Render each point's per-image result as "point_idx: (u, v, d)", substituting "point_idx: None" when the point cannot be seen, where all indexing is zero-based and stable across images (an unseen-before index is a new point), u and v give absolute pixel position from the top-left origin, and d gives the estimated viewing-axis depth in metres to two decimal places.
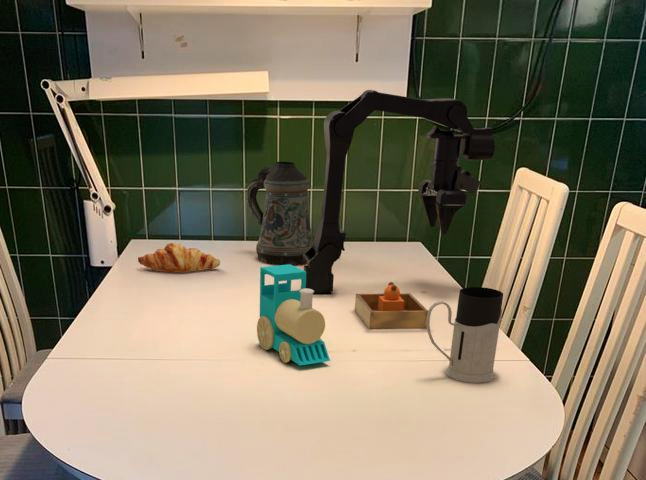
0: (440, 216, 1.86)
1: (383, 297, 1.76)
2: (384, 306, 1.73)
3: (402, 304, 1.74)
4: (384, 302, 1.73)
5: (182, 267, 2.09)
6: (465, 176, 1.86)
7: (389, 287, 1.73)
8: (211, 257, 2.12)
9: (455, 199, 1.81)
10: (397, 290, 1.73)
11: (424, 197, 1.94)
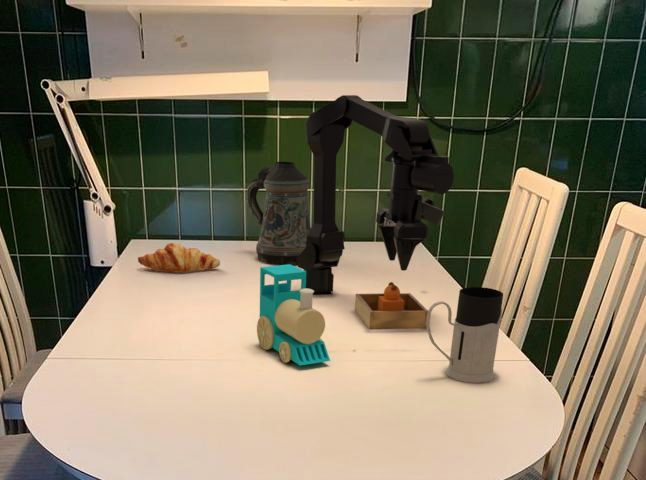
0: (399, 251, 1.66)
1: (383, 297, 1.76)
2: (384, 306, 1.73)
3: (402, 304, 1.74)
4: (384, 302, 1.73)
5: (182, 267, 2.09)
6: (426, 206, 1.66)
7: (389, 287, 1.73)
8: (211, 257, 2.12)
9: (415, 232, 1.61)
10: (397, 290, 1.73)
11: (382, 228, 1.74)
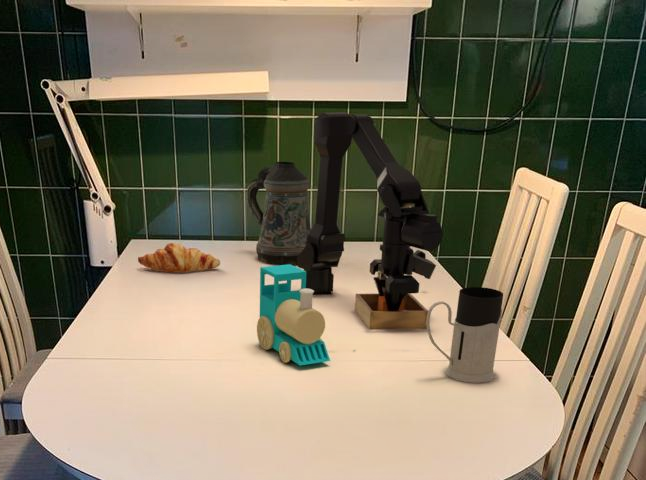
0: (387, 301, 1.71)
1: (383, 297, 1.76)
2: (384, 306, 1.74)
3: (402, 304, 1.74)
4: (384, 302, 1.73)
5: (182, 267, 2.09)
6: (418, 260, 1.70)
7: None
8: (211, 257, 2.12)
9: (405, 288, 1.65)
10: None
11: (378, 281, 1.76)
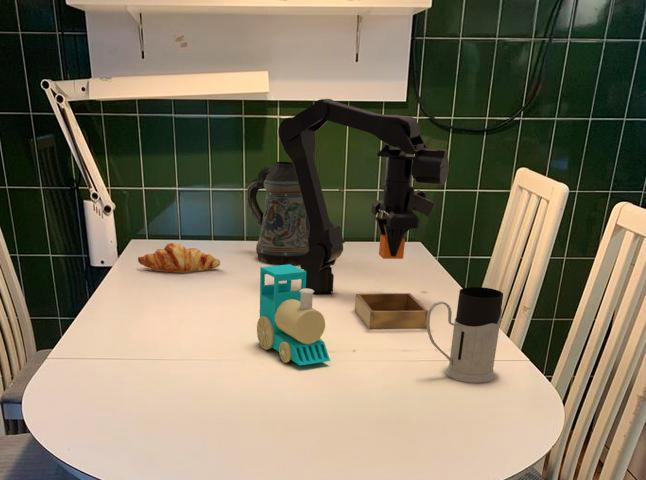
0: (389, 237, 1.78)
1: (385, 235, 1.82)
2: (385, 243, 1.80)
3: (403, 242, 1.80)
4: (385, 239, 1.80)
5: (182, 267, 2.09)
6: (418, 198, 1.76)
7: None
8: (211, 257, 2.12)
9: (406, 222, 1.71)
10: None
11: (379, 220, 1.82)
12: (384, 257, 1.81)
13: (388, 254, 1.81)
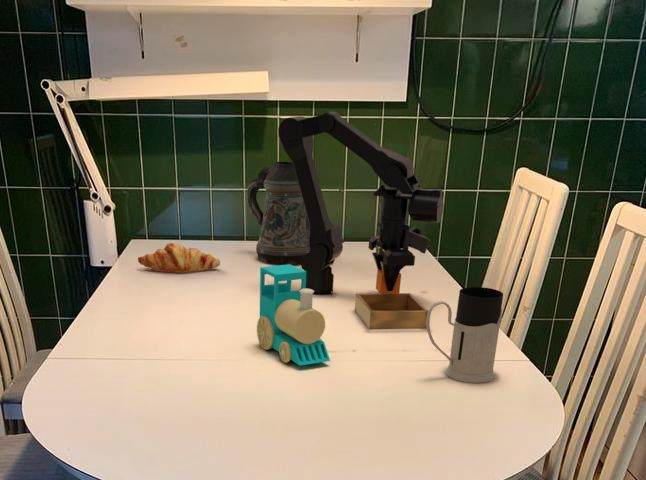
0: (385, 273, 1.83)
1: (381, 271, 1.88)
2: (382, 279, 1.86)
3: (399, 277, 1.86)
4: (382, 275, 1.85)
5: (182, 267, 2.09)
6: (413, 235, 1.82)
7: None
8: (211, 257, 2.12)
9: (402, 260, 1.77)
10: None
11: (376, 256, 1.88)
12: (381, 292, 1.87)
13: (385, 288, 1.87)
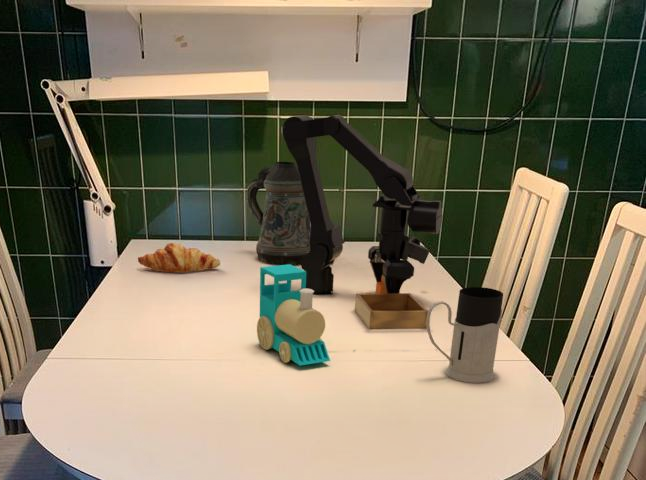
0: (387, 286, 1.82)
1: (380, 283, 1.89)
2: (381, 291, 1.87)
3: None
4: (381, 287, 1.86)
5: (182, 267, 2.09)
6: (413, 246, 1.83)
7: None
8: (211, 257, 2.12)
9: (401, 271, 1.78)
10: None
11: (373, 264, 1.91)
12: None
13: None
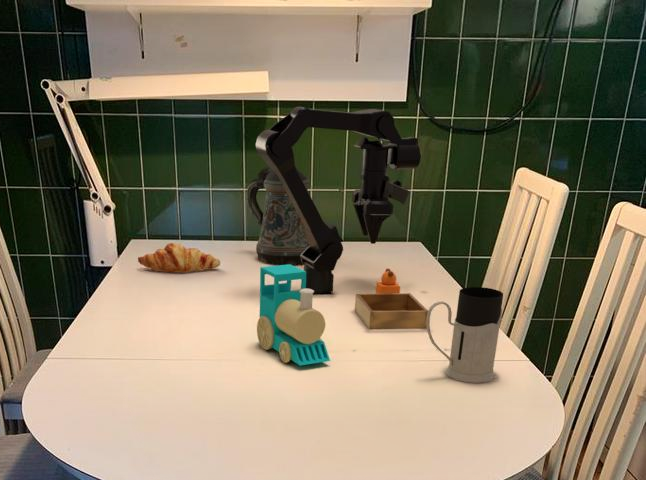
0: (368, 225, 1.87)
1: (380, 283, 1.89)
2: (381, 291, 1.87)
3: (398, 289, 1.87)
4: (381, 287, 1.86)
5: (182, 267, 2.09)
6: (393, 186, 1.88)
7: (386, 273, 1.87)
8: (211, 257, 2.12)
9: (380, 209, 1.83)
10: (393, 276, 1.87)
11: (356, 206, 1.96)
12: None
13: None
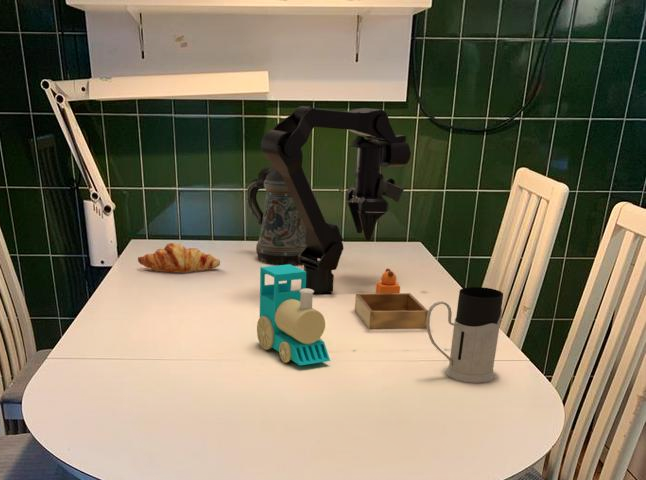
0: (363, 223, 1.90)
1: (380, 283, 1.89)
2: (381, 291, 1.87)
3: (398, 289, 1.87)
4: (381, 287, 1.86)
5: (182, 267, 2.09)
6: (387, 184, 1.90)
7: (386, 273, 1.87)
8: (211, 257, 2.12)
9: (376, 206, 1.85)
10: (393, 276, 1.87)
11: (350, 204, 1.99)
12: None
13: None
